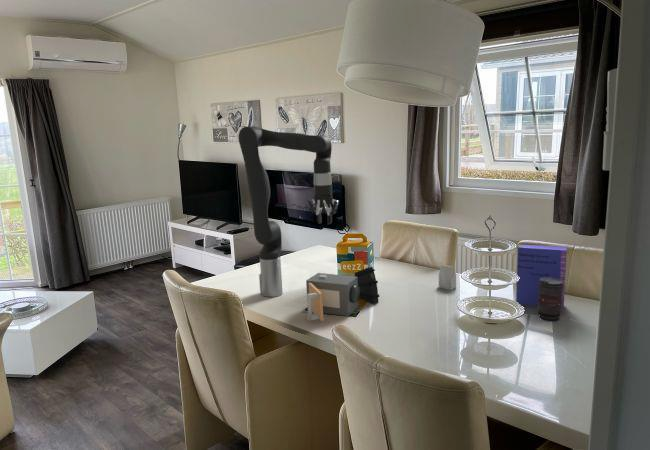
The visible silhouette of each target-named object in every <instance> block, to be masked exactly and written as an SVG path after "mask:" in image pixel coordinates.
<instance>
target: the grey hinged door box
mask: <svg viewBox="0 0 650 450" xmlns="http://www.w3.org/2000/svg"><path fill="white" fill-rule="evenodd" d="M305 282H306V283H305V284H306V286H305V287H306V295H307V294H309V288H308V283H309V282H311V283H312V284H313V285H314V286H315V287H316V288H317V289H318V290H319V291H320V292H321V293H322V301H323V314H327V315H328V314H329V315H337V316H343V317H345V316H346V317H349V316H350V315H351V314H352V313H353V312H355V311H356V310H357V309H358V308H359V300H360V298H359V296H360V289H359V286H358V277H355V275H354V276H353V275H343V274H335V273H333V274H332V273H325V272H323V273H322V272H317V273H316V274H314V275H313V276H311V277H310V278H308V279H306V281H305Z"/></svg>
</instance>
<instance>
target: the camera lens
mask: <svg viewBox="0 0 650 450" xmlns="http://www.w3.org/2000/svg"><path fill="white" fill-rule="evenodd" d="M562 292H563V283H562V281H561V280H559V279H556V278H550V277H545V278H541V279H540V282H539V296H538V307H537V311H538V315H539V319H540V320H541V321H544V322H550V323H555V322H558V321H560V316H561V312H562V309H561V299H562Z"/></svg>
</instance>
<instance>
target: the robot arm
mask: <svg viewBox="0 0 650 450" xmlns="http://www.w3.org/2000/svg"><path fill="white" fill-rule="evenodd" d="M238 143H239V147H240V150H241V153H242V158H243V162H244V168H245V174H246V179H247V186H248V191H249V196H250V204H251V208H252V209H251V211H252V218H253V221H252V222H253V231H254V232H253V233H254V237H255V239H256V241H257V242H258V243H259V245H263V246H262V247H261V250H259V265H260V267H259V268H260V273H259V275H258V279H259V291H260V295H261V296H263V297H265V298H266V297H267V298H273V297H274V298H275V297H278V296H281V295H283V293H284V292H283V278H282V261H281V252H282V248H283V247H282V230H281V227H280V224H278V223H277V222H276V221H274V220H269V212H268V209H269V204H270V199H271V186H270V180H269V179H270V178H269V175H268V173H267V171H266V169H265V167H264V165H263V163H262V161H261V157H260V154H259V153H260V152H259V147H277V148H278V147H279V148H283V149H287V150H292V151H305V152H310V153H313V154H314V153H315V159H314V160H313V192H314V193H313V194H314V198H312V199H309V200H308V201H307V202H308V205H309V207H310V210H311V212H312V214H314V215H316V222H317V223H318V224H319V225H321V224H322V223H323V220H322V210H323V208H324V209H325V211H326V214H327V215H326V218H327V219H326V220H327V225H331V224H332V222H333V215H334V214H336V213H337V210H338V207H339V203H340V200H339V199H334V198H333V184H332V183H333V181H332V172H331V170H332V169H331V157H332V150H333V148H332V147H333V146H332V145H333V144H332V140H331V139H330V137H329V136H327V135H326V134H325V135H324V134H320V135H312V134H305V133H301V132H300V133H299V132H290V131H289V132H283V131H282V132H281V131H273V130H269V129H264V128H261V127H258V126H252V125H251V126H250V125H249V126H244V127H242V128H240V130H239V132H238ZM331 204H332V205H331Z"/></svg>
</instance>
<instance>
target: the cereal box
mask: <svg viewBox="0 0 650 450" xmlns="http://www.w3.org/2000/svg"><path fill="white" fill-rule="evenodd" d="M567 248H568V247H567V246H553V245H551V246H549V245H548V246H547V245H535V244H534V245H531V244H518V247H517V261H516V262H517V263H516V264H517V265H516V266H517V267H516V268H517V269H516V276H517V275H518V276H519V277H520V279H519V281H518V282H517V281H516V293H515V298H516V299H515V303H516V302H518V303H519V304H521V305H520V306H527V307H528V306H529V307H536V308H538V296H539V282H540V279H541V278H545V277H550V278H556V279H559V280H561V281H562V283H563V292H562V299H561V310H564V309H565V307H564V306H565V288H566V273H567V268H566V267H567V256H568V255H567V254H568V253H567V251H568V249H567Z"/></svg>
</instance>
